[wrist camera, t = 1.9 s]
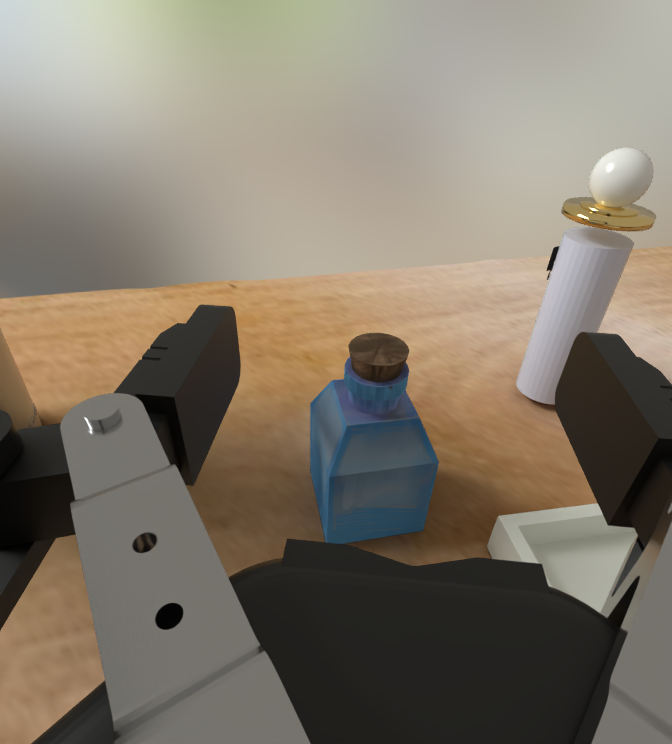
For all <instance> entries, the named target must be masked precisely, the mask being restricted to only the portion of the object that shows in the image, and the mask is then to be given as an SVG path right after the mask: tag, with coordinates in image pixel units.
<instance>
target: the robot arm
mask: <svg viewBox="0 0 672 744" xmlns="http://www.w3.org/2000/svg"><path fill="white" fill-rule="evenodd" d="M240 367H241V365H240V353H239V344H238V334H237V325H236V316H235V312H234V309H233V308H232V307H229V306H215V305H199V306H198V308H197V309H196V310H195V312H194V313H193V315H192V316H191V317H190V319H189V320H188V321H187V323H186V324H182V323H177V324H175V325H174V326H172V327H171V328H169V329H167V330H166V331H164V332H162V333H161V334H160V335H159V336H158V337H157V339H156V340H155V341H154V342H153V344H152V345H151V346H150V349H148V350H147V351H146V353H145V354H144V355H143V356H142V360H139V361H138V363H137V364H136V365H135V366H134V368H133V369H132V370H131V372H130V373H129V374H128V375H127V377H126V378H125V379H124V380H123V382H122V383H121V384H120V386H119V387H118V388H117V389H116V391H115V392H114V393H111V394H104V395H99V396H96V397H93V398H90V399H87V400H85V401H83V402H81V403H79V404H77V405H76V406H75V407H73V408H72V409H71V410H70V411H69V412H67V414H66V415H65V416H64V417H63V419H62V421H61V423H60V424H54V425H46V426H43V425H42V423H41V421H40V418H39V416H38V414H37V410H36V407H35V405H34V404H33V402H32V400H31V397H30V395H29V393H28V391H27V388H26V386H25V383H24V381H23V379H22V376H21V374H20V372H19V370H18V367H17V365H16V363H15V361H14V358H13V356H12V354H11V352H10V349H9V347H8V345H7V343H6V340H5V338H4V336H3V334H2V331H1V329H0V630H1V628H2V627H3V625H4V623H5V622H6V620H7V618H8V617H9V615H10V613H11V612H12V610H13V608H14V607H15V605H16V603H17V602H18V600H19V598H20V597H21V595H22V593H23V592H24V590H25V588H26V587H27V585H28V583H29V582H30V580H31V578H32V577H33V575H34V573H35V572H36V570H37V568H38V567H39V565H40V563H41V562H42V560H43V559H44V557H45V555H46V554H47V552H48V550H49V549H50V547H51V545H52V544H53V542H54V540H55V539H56V538H58V537H64V536H69V535H74V534H76V538H77V543H78V548H79V553H80V558H81V563H82V568H83V573H84V578H85V583H86V588H87V593H88V598H89V603H90V608H91V613H92V618H93V623H94V628H95V633H96V638H97V642H98V647H99V652H100V657H101V662H102V667H103V672H104V677H105V681H104V682H103V683H101V684H100V685H99V686H98V687H97V688H96V689H94V690H93V691H92V692H91V693H90V694H89V695H87V696H86V697H85V698H84V699H83V700H82V701H80V702H79V703H78V704H77V705H76V706H75V707H73V708H72V709H71V710H70V711H69V712H68V713H66V714H65V715H64V716H63V717H62V718H61V719H59V720H58V721H57V722H56V723H55V724H54V725H52V726H51V727H50V728H49V729H48V730H47V731H45V732H44V733H43V734H42V735H41V736H40V737H38V738H37V739H36V740H35V741H34V742H33V743H31V744H672V385H671V383H670V382H669V381H668V380H667V379H666V377H665V376H664V375H663V374H662V373H661V371H659V370H658V369H656V368H655V367H653V366H652V365H650V364H649V363H647V362H646V361H645V360H643V359H642V358H640V357H636V356H635V354H634V353H633V352H632V351H631V349H630V348H629V347H628V345H627V344H626V343H625V342H624V340H623V339H622V338H621V337H620V336H619V335H617V334H607V333H592V332H581V333H579V334H578V335H577V336H576V338H575V340H574V342H573V345H572V347H571V350H570V353H569V355H568V358H567V361H566V363H565V366H564V369H563V371H562V374H561V377H560V379H559V382H558V385H557V388H556V392H555V408H556V412H557V415H558V417H559V419H560V421H561V423H562V426H563V428H564V430H565V432H566V434H567V437H568V439H569V441H570V443H571V445H572V448H573V450H574V452H575V454H576V456H577V459H578V461H579V463H580V465H581V467H582V470H583V472H584V474H585V476H586V478H587V481H588V483H589V485H590V487H591V489H592V492H593V494H594V496H595V498H596V500H597V503H598V505H599V507H600V509H601V511H602V514H603V516H604V518H605V520H606V522H607V525H608V526H618V527H629V528H634V529H635V531H636V533H637V537H636V539H635V540H634V542H633V543H632V545H631V546H630V548H629V551H628V553H627V555H626V557H625V559H624V562H623V564H622V566H621V568H620V570H619V573H618V575H617V577H616V579H615V581H614V584H613V586H612V588H611V590H610V592H609V595H608V597H607V599H606V601H605V603H604V606H603V608H602V610H601V612H600V613H599V612H598V611H596V610H595V609H593V608H592V607H590V606H589V605H587V604H586V603H584V602H582V601H580V600H578V599H577V598H575V597H573V596H571V595H569V594H567V593H564V592H562V591H560V590H558V589H556V588H553V587H550V586H548V583H547V579H546V576H545V573H544V569H543V566H542V564H539V563H529V562H518V561H508V560H498V559H488V558H471V559H464V560H457V561H450V562H443V563H436V564H429V565H422V566H410V565H406V564H403V563H400V562H398V561H395V560H392V559H389V558H386V557H383V556H380V555H377V554H374V553H371V552H368V551H365V550H362V549H359V548H356V547H353V546H350V545H346V544H336V543H325V542H315V541H305V540H295V539H287V541H286V546H285V551H284V556H283V558H281V559H274V560H270V561H266V562H262V563H258V564H256V565H253V566H251V567H248V568H246V569H243V570H241V571H239V572H238V573H236V574H234V575H232V576H230V577H228V576H227V574H226V572H225V570H224V567H223V565H222V563H221V561H220V559H219V557H218V555H217V552H216V550H215V548H214V546H213V544H212V542H211V539H210V537H209V535H208V533H207V531H206V529H205V526H204V524H203V522H202V520H201V518H200V516H199V513H198V511H197V509H196V507H195V505H194V503H193V500H192V498H191V496H190V494H189V492H188V490H187V488H186V485H194V483H195V481H196V479H197V476H198V474H199V472H200V470H201V467H202V465H203V463H204V461H205V458H206V456H207V454H208V452H209V449H210V447H211V445H212V443H213V440H214V438H215V436H216V433H217V431H218V429H219V427H220V424H221V422H222V420H223V418H224V415H225V413H226V411H227V409H228V406H229V404H230V402H231V400H232V397H233V395H234V393H235V391H236V388H237V386H238V383H239V378H240Z"/></svg>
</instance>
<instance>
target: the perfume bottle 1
mask: <svg viewBox="0 0 672 744" xmlns="http://www.w3.org/2000/svg"><path fill="white" fill-rule="evenodd" d="M349 352H350V357H349V358H348V359H347V361H346V363H345V372H344V379H342V380H332V381H331V382H330V383H329V384H328V385H327V386H326V387H325V388H324V390H323V391H322V392H321V393H320V394H319V395H318V396H317V397H316V398H315V399H314V400H313V401H312V402H311V417H310V471H311V476H312V480H313V485H314V490H315V494H316V499H317V504H318V509H319V513H320V518H321V523H322V527H323V532H324V537H325V541H326V543H336V544H344V543H350V542H356V541H362V540H368V539H375V538H381V537H387V536H393V535H399V534H406V533H412V532H418V531H423V529H424V524H425V520H426V516H427V511H428V507H429V503H430V498H431V494H432V490H433V485H434V481H435V477H436V472H437V468H438V464H439V461H438V459H437V457H436V454H435V452H434V450H433V447H432V445H431V443H430V441H429V438H428V436H427V434H426V431H425V429H424V427H423V424H422V422H421V420H420V418H419V416H418V414H417V412H416V410H415V408H414V406H413V404H412V402H411V400H410V399H409V397H408V395H407V393H406V391H405V390H406V386H407V381H408V374H409V368H408V365H407V364H406V359H407V357H408V354H409V349H408V346H407V345H406V343H405V342H404V341H402V340H401V339H399V338H397V337H395V336H392V335H389V334H383V333H367V334H362V335H359V336H357V337H355V338H354V339H353V340H351V342H350V344H349Z"/></svg>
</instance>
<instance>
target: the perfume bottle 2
mask: <svg viewBox="0 0 672 744" xmlns="http://www.w3.org/2000/svg"><path fill="white" fill-rule="evenodd" d="M652 178H653V165H652V162H651V160H650V158H649V157H648V155H647V154H646V153H644V152H643V151H642V150H639V149H637V148H633V147H624V148H619V149H615V150H612V151H611V152H609V153H607V154H606V155H604V156H603V157H602V158H601V159H600V160H599V161H598V162H597V163H596V164H595V166H594V167H593V169H592V171H591V173H590V177H589V190H590V193H591V196H592V197H593V198H591V197H579V198H571V199H568V200H566V201H565V202H564V204H563V207H562V211H561V212H562V214H563V215H564V216H566V217H567V218H569V219H571V220H573V221H575V222H578V223H581V224H584V225H588V226H592V227H597V228H590V227H574V228H569V229H566V230H565V231H564V234H563V237H562V240H561V243H560V246H558V247H555V248H554V249H553V252H552V255H551V258H550V261H549V264H548V268H547V271H548V270H550V272H551V274H550V272H549V275H550V277H549V275H548V278H549V281H548V284H547V287H546V290H545V293H544V296H543V299H542V302H541V305H540V309H539V312H538V315H537V318H536V321H535V324H534V327H533V330H532V333H531V337H530V340H529V343H528V346H527V349H526V352H525V355H524V358H523V361H522V365H521V368H520V371H519V374H518V377H517V380H516V385H517V387H518V389H519V390H520V391H521V392H522V393H523V394H524V395H525V396H527V397H529V398H530V399H532V400H535V401H537V402H541V403H545V404H555V392H556V388H557V385H558V382H559V379H560V377H561V374H562V371H563V369H564V366H565V363H566V361H567V358H568V355H569V353H570V350H571V347H572V345H573V342H574V340H575V338H576V336H577V335H578V334H579V333H581V332H592V333H597V332H598V330H599V327H600V325H601V323H602V320H603V318H604V315H605V313H606V311H607V308H608V306H609V303H610V301H611V298H612V296H613V294H614V291H615V289H616V286H617V284H618V282H619V279H620V277H621V274H622V272H623V270H624V267H625V265H626V262H627V260H628V258H629V255H630V253H631V250H632V248H633V246H634V243H633V241H632V240H631V239H629V238H628V237H626V236H624V235H621V234H619V233H616V232H612V231H608V230H616V231H643V230H647V229H650V228H651V227H652V226H653V224H654V222H655V219H656V215H655V214H654V213H653V212H652V211H650V210H648V209H646V208H644V207H641V206H638V205H635V204H632V203H634V202H635V201H637V200H638V199H639V198H640V197H641V196H642V195H644V193H645V192H646V191H647V189H648V188H649V186H650V184H651V182H652ZM598 228H601V229H598ZM604 229H608V230H604ZM554 261H555V262H554ZM548 278H547V280H548Z"/></svg>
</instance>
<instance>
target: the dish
mask: <svg viewBox="0 0 672 744" xmlns="http://www.w3.org/2000/svg"><path fill="white" fill-rule="evenodd" d="M636 537H637V533H636V531H635V529H634V528H629V527H618V526H608V525H607V522H606V520H605V518H604V516H603V514H602V511H601V509H600V507H599V505H598V503H597V504H589V505H581V506H573V507H565V508H557V509H549V510H541V511H533V512H525V513H517V514H509V515H501V516H498V518H497V520H496V523H495V526H494V528H493V531H492V534H491V536H490V539H489V542H488V545H487V549H488V551H489V553H490V555H491V557H492V559H498V560H508V561H518V562H529V563H539V564H542V566H543V569H544V573H545V576H546V579H547V583H548V586H550V587H553V588H556V589H558V590H560V591H562V592H564V593H567V594H569V595H571V596H573V597H575V598H577V599H578V600H580V601H582V602H584V603H586V604H587V605H589V606H590V607H592V608H593V609H595V610H596V611H598V612H599V613H600V612H601V610H602V608H603V606H604V603H605V601H606V599H607V597H608V595H609V592H610V590H611V588H612V586H613V584H614V581H615V579H616V577H617V575H618V573H619V570H620V568H621V566H622V564H623V562H624V559H625V557H626V555H627V553H628V551H629V548H630V546H631V545H632V543H633V542H634V540H635V539H636Z"/></svg>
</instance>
